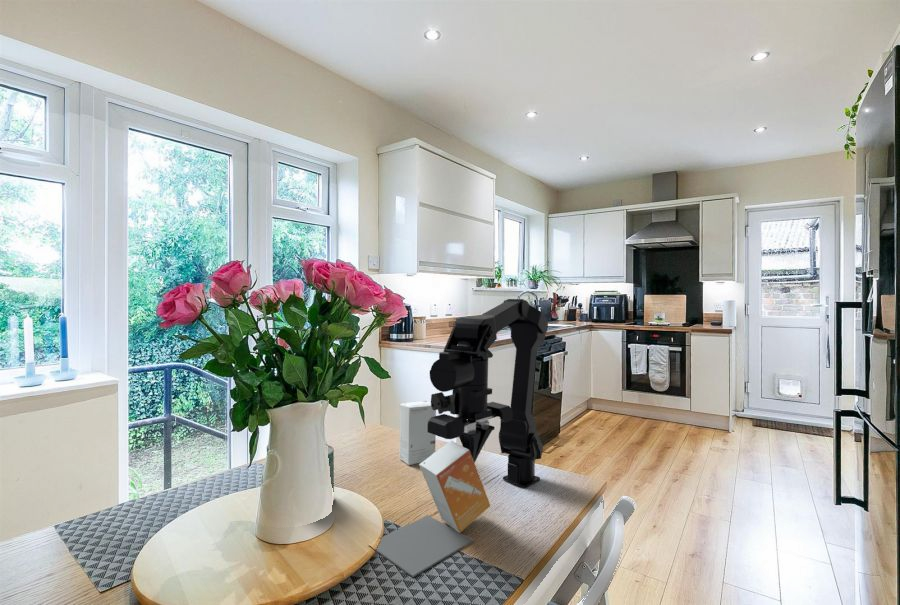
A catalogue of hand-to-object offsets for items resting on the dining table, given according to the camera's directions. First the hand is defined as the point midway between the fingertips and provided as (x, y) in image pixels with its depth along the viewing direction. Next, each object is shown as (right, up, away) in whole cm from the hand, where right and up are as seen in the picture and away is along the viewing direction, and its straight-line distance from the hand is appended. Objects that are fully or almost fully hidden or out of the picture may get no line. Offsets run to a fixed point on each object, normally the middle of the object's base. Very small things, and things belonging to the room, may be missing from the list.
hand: (471, 462), depth 84 cm
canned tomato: (-33, -11, +7) cm, 35 cm away
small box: (-1, -9, -1) cm, 10 cm away
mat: (-9, -11, -8) cm, 17 cm away
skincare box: (-13, -11, +31) cm, 35 cm away
